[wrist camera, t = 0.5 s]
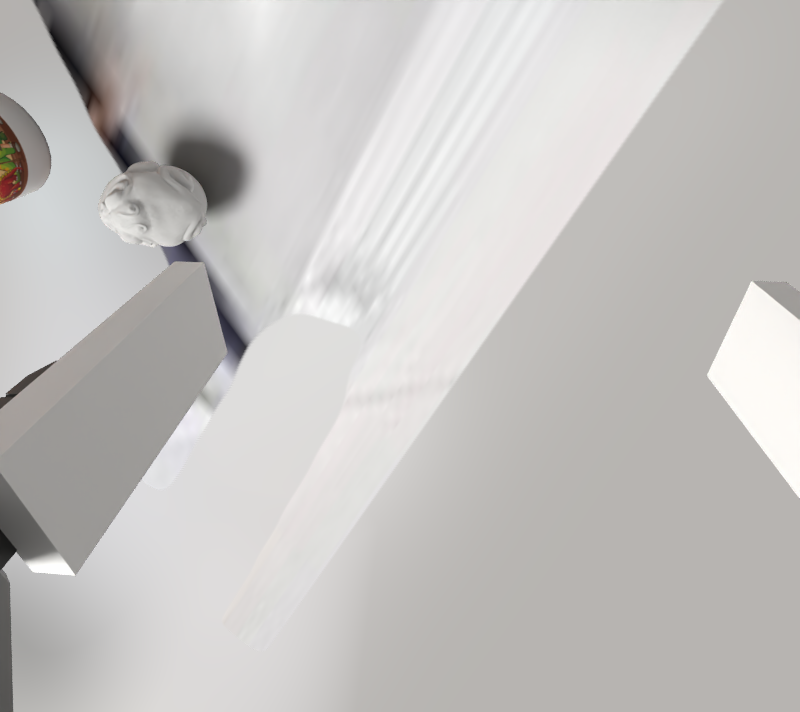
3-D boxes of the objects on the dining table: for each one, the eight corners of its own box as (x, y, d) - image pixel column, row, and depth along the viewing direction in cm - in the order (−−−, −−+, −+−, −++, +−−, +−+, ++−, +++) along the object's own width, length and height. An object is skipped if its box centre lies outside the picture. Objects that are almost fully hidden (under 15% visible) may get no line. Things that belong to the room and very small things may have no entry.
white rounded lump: (126, 155, 36) (65, 177, 30) (212, 147, 35) (165, 168, 29) (157, 232, 39) (107, 265, 33) (236, 227, 38) (198, 260, 32)
